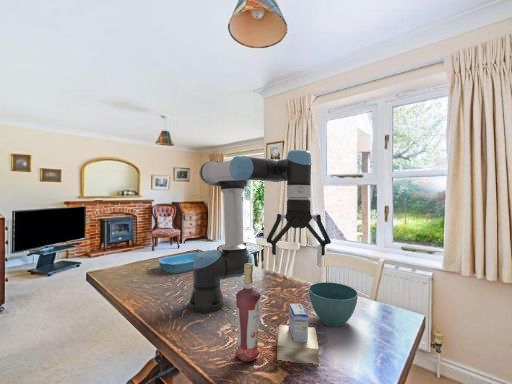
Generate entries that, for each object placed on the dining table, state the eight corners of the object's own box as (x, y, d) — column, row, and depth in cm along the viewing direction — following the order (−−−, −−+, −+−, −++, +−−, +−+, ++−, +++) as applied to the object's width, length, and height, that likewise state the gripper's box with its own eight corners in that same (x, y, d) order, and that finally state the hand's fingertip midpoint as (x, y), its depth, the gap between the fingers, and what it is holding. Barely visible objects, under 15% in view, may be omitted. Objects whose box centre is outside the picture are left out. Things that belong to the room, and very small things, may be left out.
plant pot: (351, 340, 87) (352, 303, 87) (301, 325, 97) (301, 292, 97) (361, 318, 102) (361, 287, 103) (317, 307, 112) (317, 279, 112)
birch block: (277, 362, 76) (277, 345, 76) (279, 339, 88) (279, 324, 88) (318, 366, 74) (318, 348, 74) (314, 342, 86) (315, 327, 86)
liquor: (254, 368, 72) (255, 268, 73) (231, 361, 75) (232, 266, 75) (263, 353, 79) (264, 262, 79) (241, 347, 82) (242, 260, 82)
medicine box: (288, 329, 85) (288, 303, 85) (301, 329, 85) (301, 303, 85) (293, 343, 77) (294, 314, 77) (308, 343, 77) (308, 314, 77)
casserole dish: (199, 259, 192) (199, 250, 192) (218, 265, 177) (218, 255, 177) (151, 270, 164) (151, 259, 165) (169, 278, 149) (169, 265, 150)
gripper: (259, 198, 78) (258, 267, 78) (341, 199, 78) (340, 269, 78) (259, 198, 86) (259, 261, 86) (334, 199, 85) (333, 262, 85)
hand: (297, 265), depth 82 cm, fingers open, 13 cm apart
